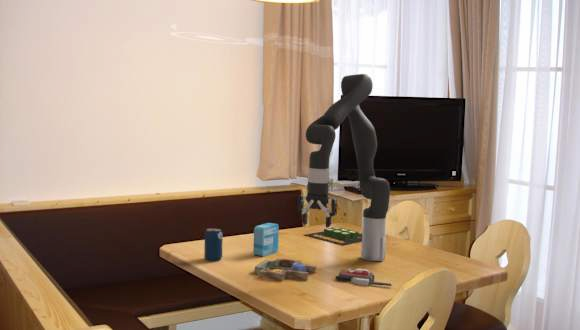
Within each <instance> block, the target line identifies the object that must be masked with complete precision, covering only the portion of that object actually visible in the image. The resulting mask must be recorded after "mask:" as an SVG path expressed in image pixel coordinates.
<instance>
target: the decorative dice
mask: <svg viewBox="0 0 580 330" xmlns="http://www.w3.org/2000/svg"><path fill="white" fill-rule="evenodd" d="M305 265H306V264H305ZM305 265H304V263H303V262H301V263H294V264H293V265H292V267H291V270H293V271H301V272H306V266H305Z"/></svg>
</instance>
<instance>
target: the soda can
mask: <svg viewBox="0 0 580 330" xmlns="http://www.w3.org/2000/svg"><path fill="white" fill-rule="evenodd" d="M223 238H224V237H223V232H222V229H221V228H217V227H211V228H210V227H209V228H206V230H205V232H204V252H203V253H204V255H203V256H204V258H205V260H206V261H207V262H219V261H221V260H222V259H223Z"/></svg>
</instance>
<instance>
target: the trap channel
mask: <svg viewBox="0 0 580 330" xmlns="http://www.w3.org/2000/svg"><path fill="white" fill-rule="evenodd" d="M294 263H302V260H299V259H291V258H282V257H278V258H276V259H275V260H272V259H264V260H263V261H261V262H260V263H258V264H257V265H255V266H254V274H256V275H258V279H264V280H265V279H266V280H271V281H278V282H284V281H285V280H286V279H293V280H299V281H308V280H309V274H316V273H317V265H314V264H313V265H311V264H304V263H303V264H304V265H305V266H306V272H301V271H293V270H291V267H292V265H293V264H294ZM270 269H279V270H280V269H281V271H279V272H277V271H272V270H270Z"/></svg>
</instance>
